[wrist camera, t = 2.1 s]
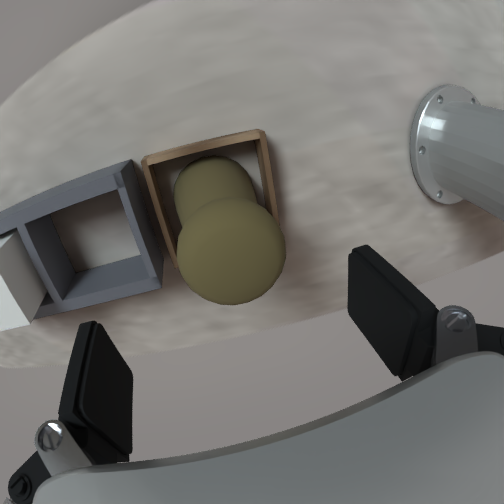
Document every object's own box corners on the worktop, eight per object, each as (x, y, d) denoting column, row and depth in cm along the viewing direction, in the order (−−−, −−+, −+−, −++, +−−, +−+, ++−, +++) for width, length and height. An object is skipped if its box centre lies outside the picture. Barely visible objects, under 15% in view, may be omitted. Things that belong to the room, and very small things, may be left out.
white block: (32, 215, 20) (-9, 257, 14) (57, 272, 22) (30, 324, 16) (-10, 234, 19) (-49, 275, 13) (16, 285, 22) (-14, 334, 16)
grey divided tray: (131, 159, 20) (119, 172, 16) (163, 260, 24) (161, 289, 20) (-26, 225, 18) (-49, 246, 15) (13, 301, 22) (-3, 328, 19)
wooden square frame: (258, 128, 21) (264, 131, 19) (274, 230, 25) (281, 240, 23) (144, 156, 20) (140, 161, 18) (174, 255, 24) (174, 268, 22)
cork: (205, 245, 24) (222, 343, 15) (156, 188, 21) (136, 263, 12) (267, 201, 24) (325, 277, 14) (223, 139, 21) (258, 173, 11)
